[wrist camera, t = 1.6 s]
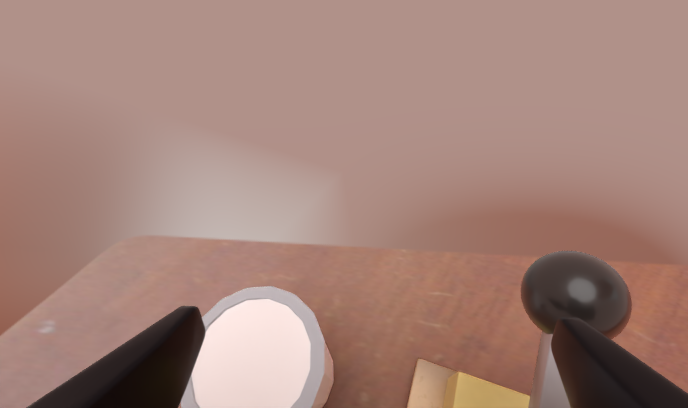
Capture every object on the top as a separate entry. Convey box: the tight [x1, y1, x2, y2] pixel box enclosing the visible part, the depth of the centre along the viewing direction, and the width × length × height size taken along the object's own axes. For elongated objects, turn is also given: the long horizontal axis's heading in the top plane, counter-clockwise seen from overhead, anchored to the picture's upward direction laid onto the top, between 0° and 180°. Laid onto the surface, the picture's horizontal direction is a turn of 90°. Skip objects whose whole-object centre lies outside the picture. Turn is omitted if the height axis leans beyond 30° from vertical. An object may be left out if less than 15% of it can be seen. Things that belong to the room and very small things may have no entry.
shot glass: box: [181, 286, 334, 408], centre depth 18 cm, size 7×7×7 cm
